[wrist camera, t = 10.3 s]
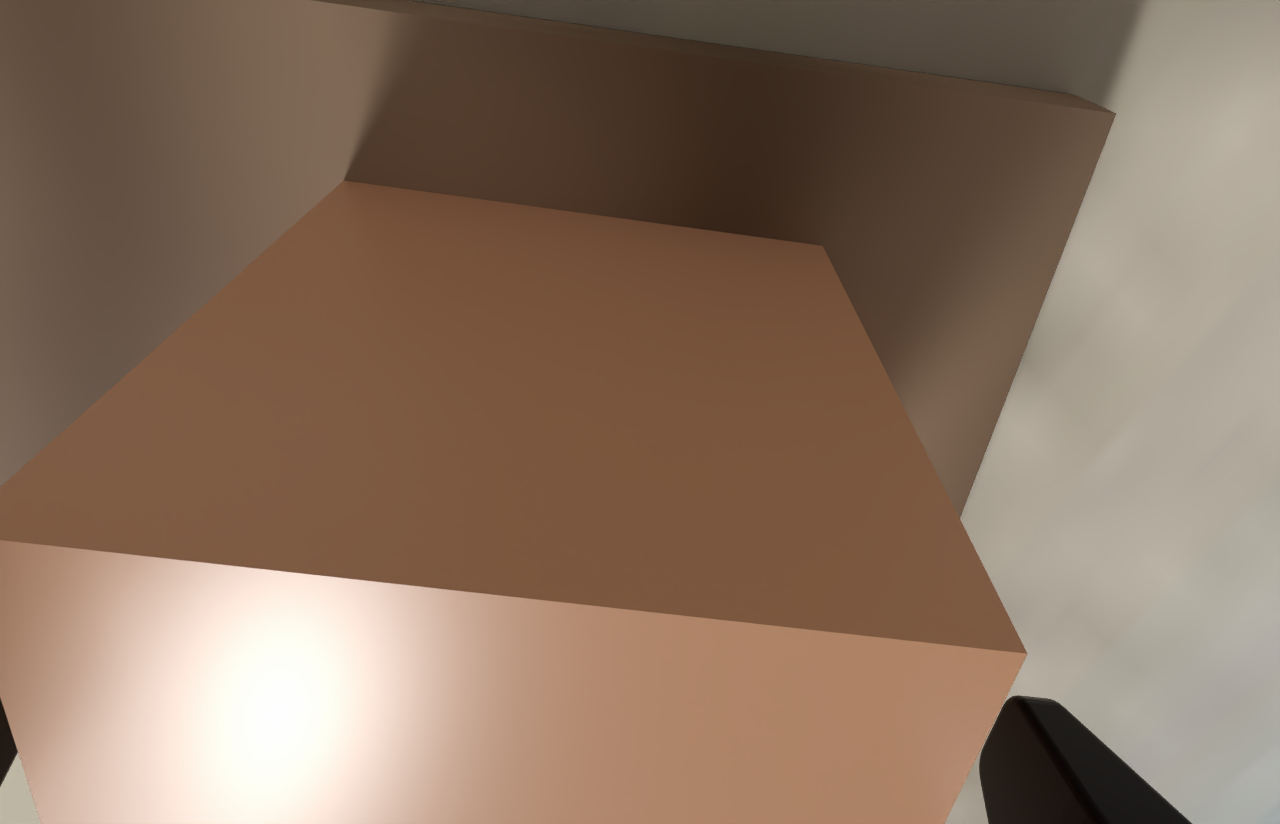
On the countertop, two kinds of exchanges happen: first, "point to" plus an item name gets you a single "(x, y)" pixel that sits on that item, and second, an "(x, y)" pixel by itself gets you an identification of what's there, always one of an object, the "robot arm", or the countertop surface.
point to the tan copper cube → (499, 544)
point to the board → (507, 175)
